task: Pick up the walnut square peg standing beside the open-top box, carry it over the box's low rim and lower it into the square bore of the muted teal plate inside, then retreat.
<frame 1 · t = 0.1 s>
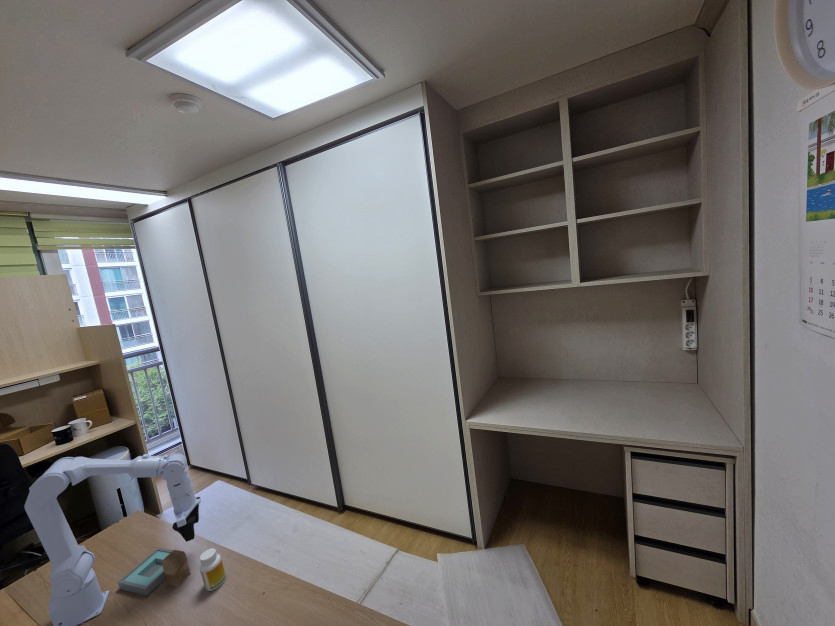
hand: (192, 531, 105), 10 cm above the table, fingers open, 7 cm apart
socket box: (154, 573, 103), on the table
peg: (179, 579, 100), on the table
supplement bottle: (216, 583, 97), on the table
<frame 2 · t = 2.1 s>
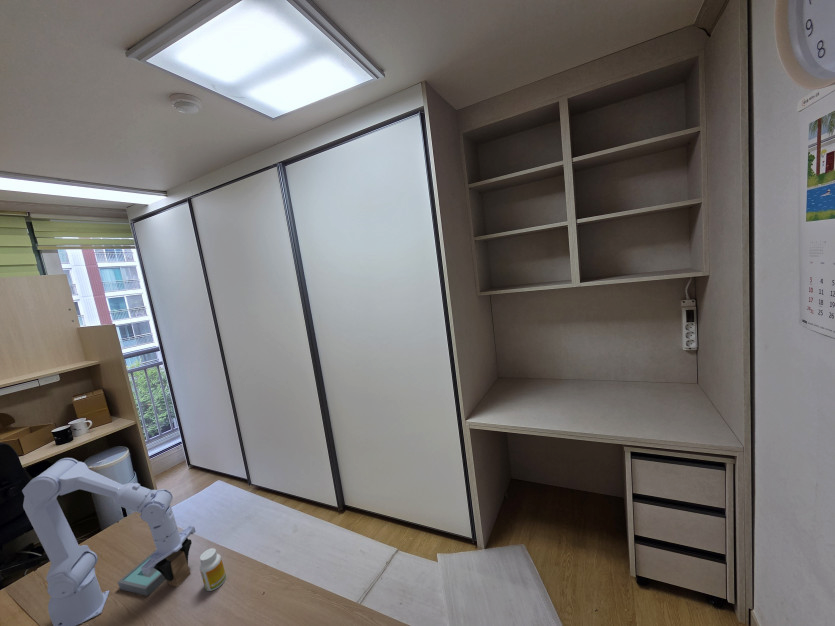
hand: (177, 572, 99), 2 cm above the table, fingers closed on peg, 4 cm apart
peg: (179, 579, 100), on the table, touching gripper
everything else where it was.
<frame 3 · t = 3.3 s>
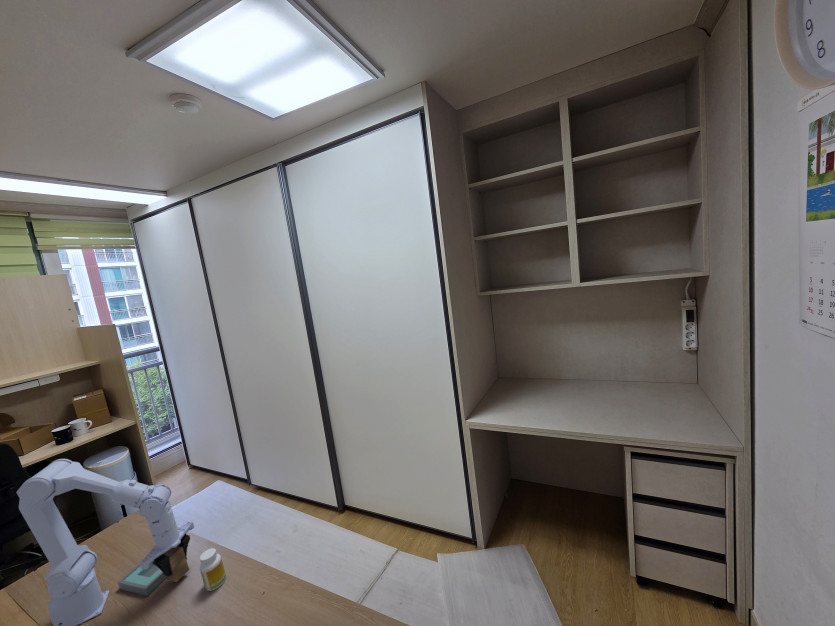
hand: (175, 567, 99), 4 cm above the table, fingers closed on peg, 4 cm apart
peg: (178, 574, 99), point 2 cm above the table, touching gripper
everything else where it was.
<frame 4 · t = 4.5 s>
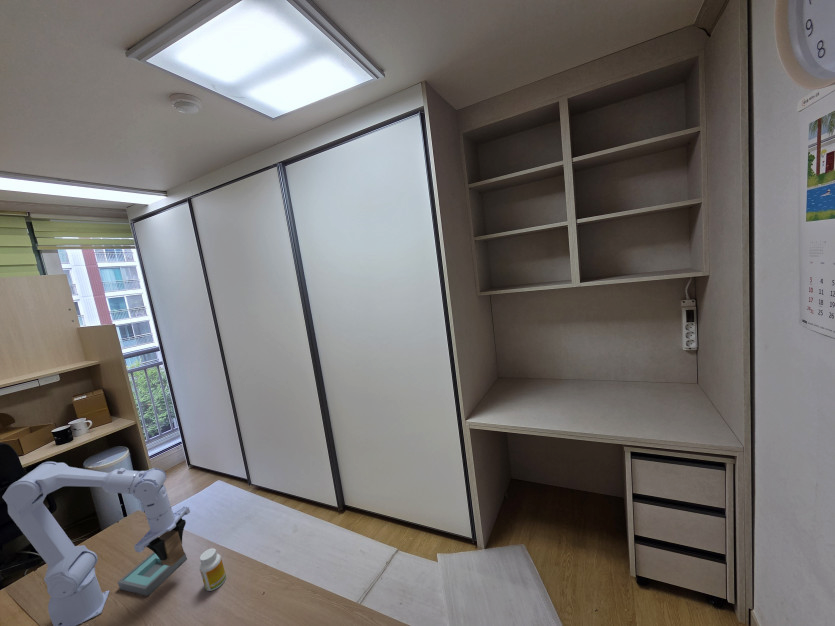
hand: (171, 552, 98), 9 cm above the table, fingers closed on peg, 4 cm apart
peg: (173, 559, 99), point 7 cm above the table, touching gripper
everything else where it was.
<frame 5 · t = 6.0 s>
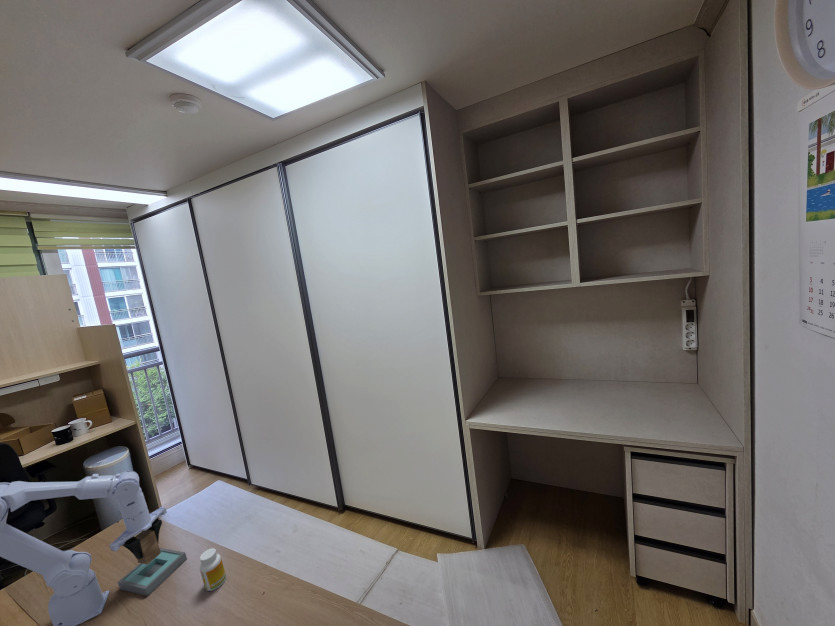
hand: (147, 551, 102), 8 cm above the table, fingers closed on peg, 4 cm apart
peg: (149, 557, 102), point 6 cm above the table, touching gripper
everything else where it was.
when the fingers open (4 cm above the table, at t = 7.3 s): peg stays where it is, resting on socket box.
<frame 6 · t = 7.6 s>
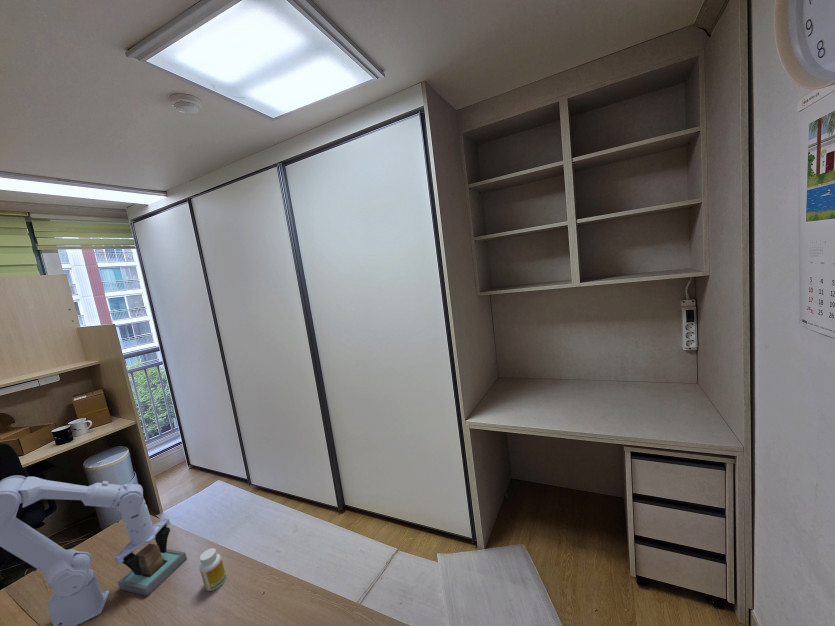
hand: (151, 562, 102), 4 cm above the table, fingers open, 7 cm apart
peg: (154, 572, 103), point 1 cm above the table, touching socket box
everything else where it was.
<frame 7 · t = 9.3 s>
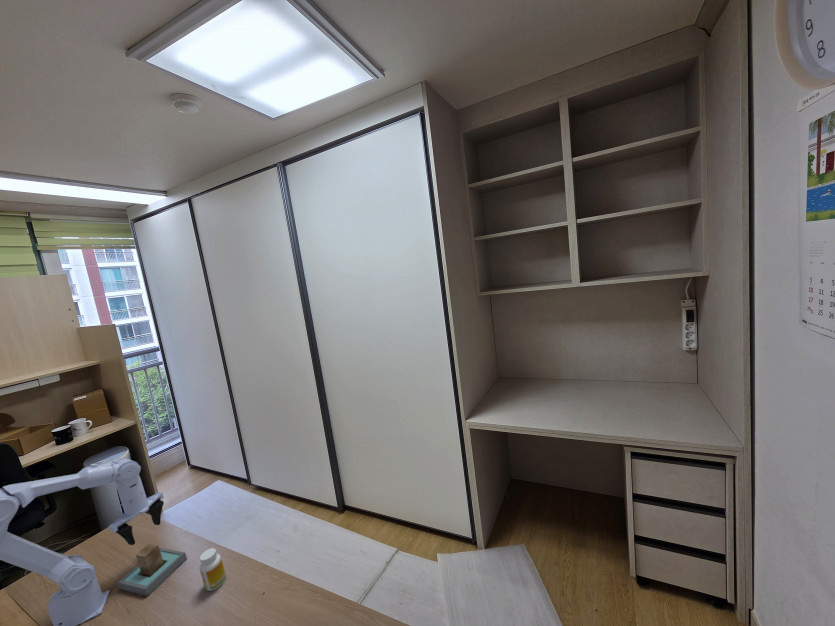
hand: (145, 533, 106), 10 cm above the table, fingers open, 7 cm apart
nothing on the table moved.
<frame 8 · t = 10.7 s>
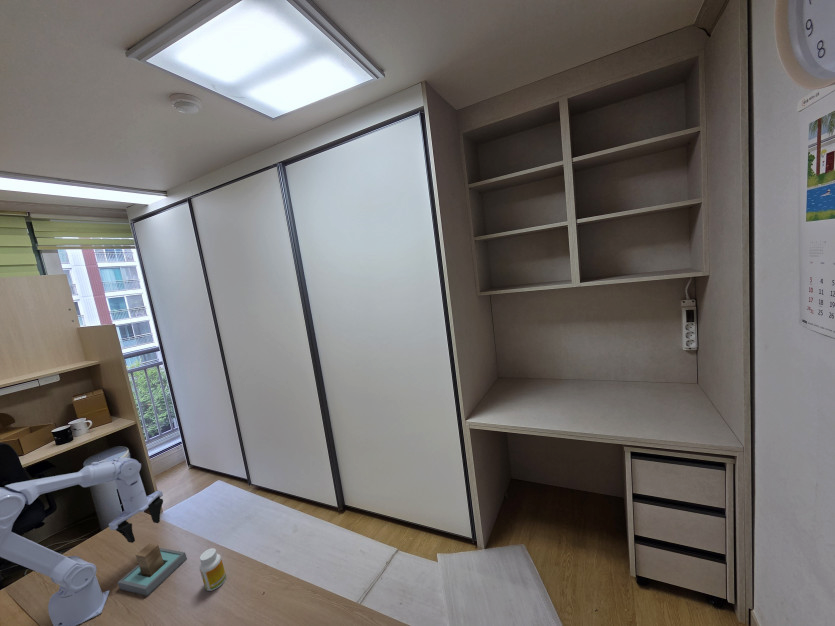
hand: (144, 531, 107), 10 cm above the table, fingers open, 7 cm apart
nothing on the table moved.
at the end: peg 0.0 cm off-centre on the socket box, point 0.6 cm above the socket box's base; peg tilted 0°; the gripper is holding nothing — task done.
